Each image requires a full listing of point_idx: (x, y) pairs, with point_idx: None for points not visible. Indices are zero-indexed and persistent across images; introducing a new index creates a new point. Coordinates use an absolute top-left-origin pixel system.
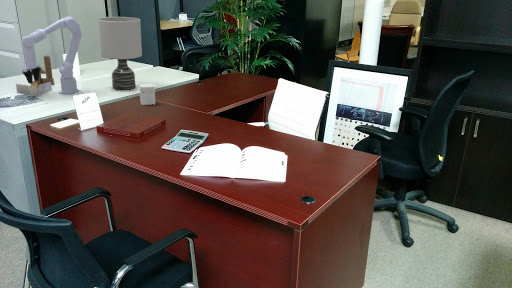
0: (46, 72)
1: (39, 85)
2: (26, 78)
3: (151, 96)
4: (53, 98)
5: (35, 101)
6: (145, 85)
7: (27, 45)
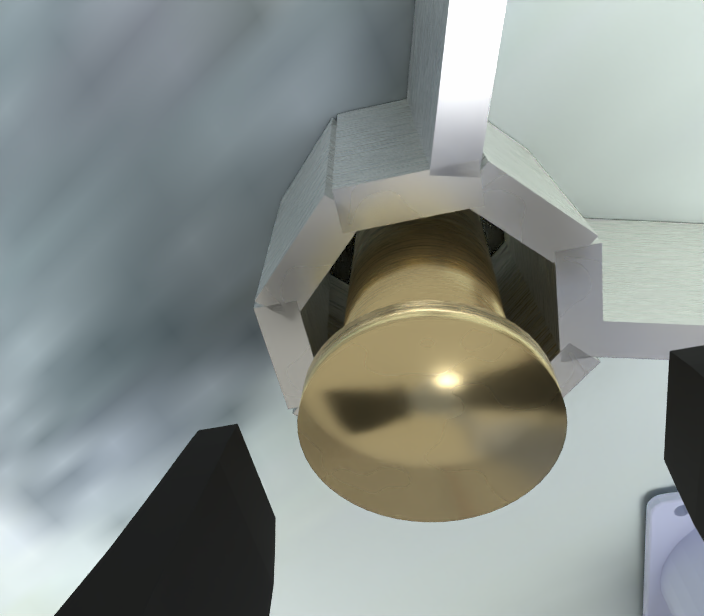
0: None
1: (619, 354)
2: (81, 587)
3: None
4: (356, 566)
5: (84, 474)
6: None
7: None
